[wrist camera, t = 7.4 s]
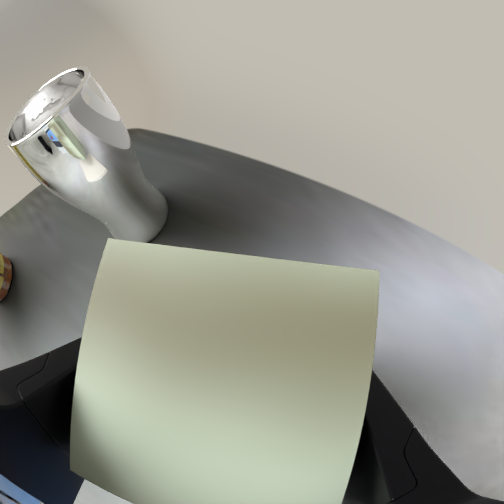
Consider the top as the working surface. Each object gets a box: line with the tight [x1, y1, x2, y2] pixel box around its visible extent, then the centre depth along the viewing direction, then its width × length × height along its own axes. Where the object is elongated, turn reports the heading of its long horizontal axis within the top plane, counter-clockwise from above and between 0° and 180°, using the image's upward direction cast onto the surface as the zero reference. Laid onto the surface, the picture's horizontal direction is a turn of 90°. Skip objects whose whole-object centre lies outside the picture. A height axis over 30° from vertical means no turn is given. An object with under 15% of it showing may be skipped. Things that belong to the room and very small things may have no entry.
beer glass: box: [5, 66, 168, 243], centre depth 18 cm, size 7×7×15 cm
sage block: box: [70, 238, 379, 504], centre depth 9 cm, size 6×6×10 cm
